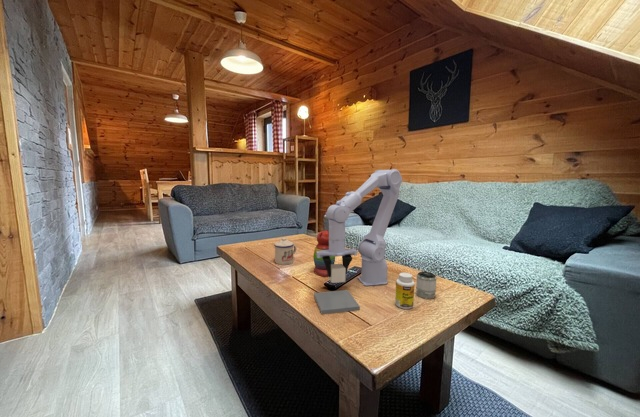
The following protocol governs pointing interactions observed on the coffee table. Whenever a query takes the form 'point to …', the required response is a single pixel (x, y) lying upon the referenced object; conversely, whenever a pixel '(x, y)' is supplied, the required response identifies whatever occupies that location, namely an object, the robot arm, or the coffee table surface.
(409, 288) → the supplement bottle
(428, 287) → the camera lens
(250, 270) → the coffee table surface
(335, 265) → the block
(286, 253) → the teacup with lid
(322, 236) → the stacking bear
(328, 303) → the plate
